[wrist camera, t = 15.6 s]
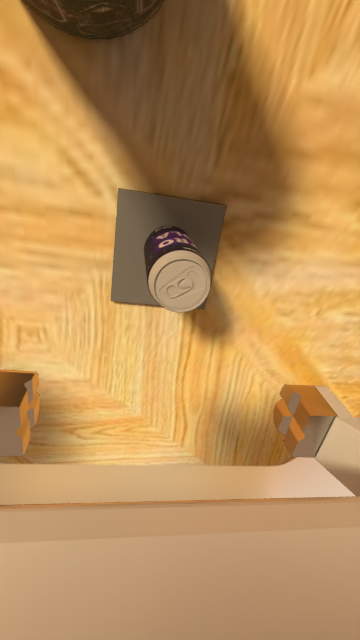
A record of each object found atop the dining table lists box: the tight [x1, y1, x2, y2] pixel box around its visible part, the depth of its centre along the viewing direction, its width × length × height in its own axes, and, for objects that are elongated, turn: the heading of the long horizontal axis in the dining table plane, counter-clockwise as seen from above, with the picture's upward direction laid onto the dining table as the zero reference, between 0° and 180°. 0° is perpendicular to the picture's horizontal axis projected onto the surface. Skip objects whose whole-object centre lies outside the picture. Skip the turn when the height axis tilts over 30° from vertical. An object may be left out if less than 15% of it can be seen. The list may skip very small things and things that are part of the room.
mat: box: [111, 188, 226, 310], centre depth 38 cm, size 12×13×1 cm
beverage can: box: [144, 226, 212, 312], centre depth 32 cm, size 6×6×12 cm
